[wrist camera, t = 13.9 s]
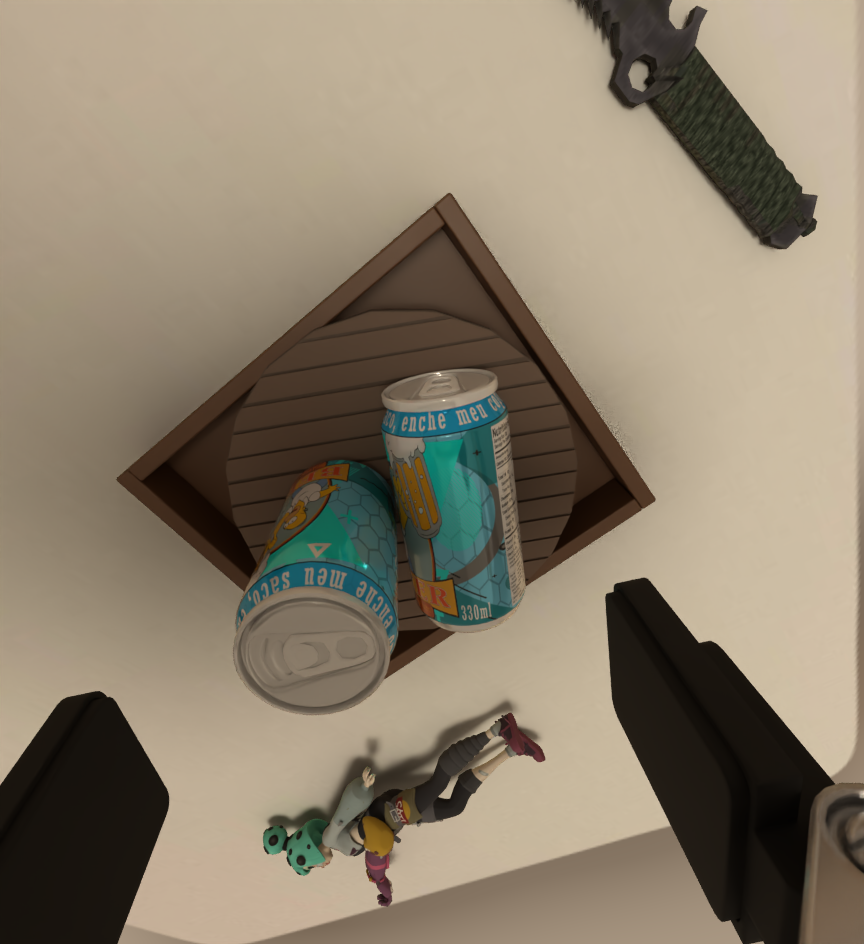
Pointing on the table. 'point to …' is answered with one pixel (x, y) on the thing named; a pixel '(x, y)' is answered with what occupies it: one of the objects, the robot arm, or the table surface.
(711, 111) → the knife
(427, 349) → the blue cans and disc
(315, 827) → the figurine
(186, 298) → the table surface
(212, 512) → the tray
